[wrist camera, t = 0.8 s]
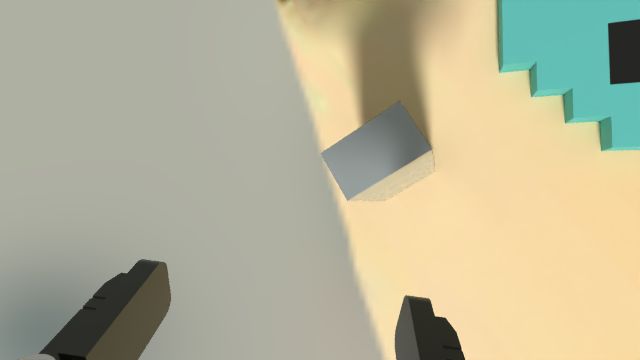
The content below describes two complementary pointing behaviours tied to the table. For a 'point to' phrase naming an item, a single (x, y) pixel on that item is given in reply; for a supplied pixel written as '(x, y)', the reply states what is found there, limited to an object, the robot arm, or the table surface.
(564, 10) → the alien figure
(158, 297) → the robot arm
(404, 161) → the grey rectangular block
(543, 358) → the table surface
